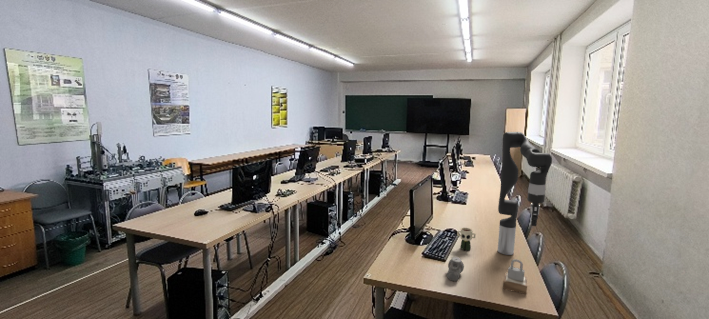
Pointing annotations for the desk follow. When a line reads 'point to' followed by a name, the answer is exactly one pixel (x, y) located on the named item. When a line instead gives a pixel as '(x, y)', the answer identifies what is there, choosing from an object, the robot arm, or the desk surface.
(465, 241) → the character mug
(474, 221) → the desk surface
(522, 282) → the base
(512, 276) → the padlock
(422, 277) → the desk surface
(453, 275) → the pipe fitting
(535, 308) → the desk surface
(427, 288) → the desk surface
